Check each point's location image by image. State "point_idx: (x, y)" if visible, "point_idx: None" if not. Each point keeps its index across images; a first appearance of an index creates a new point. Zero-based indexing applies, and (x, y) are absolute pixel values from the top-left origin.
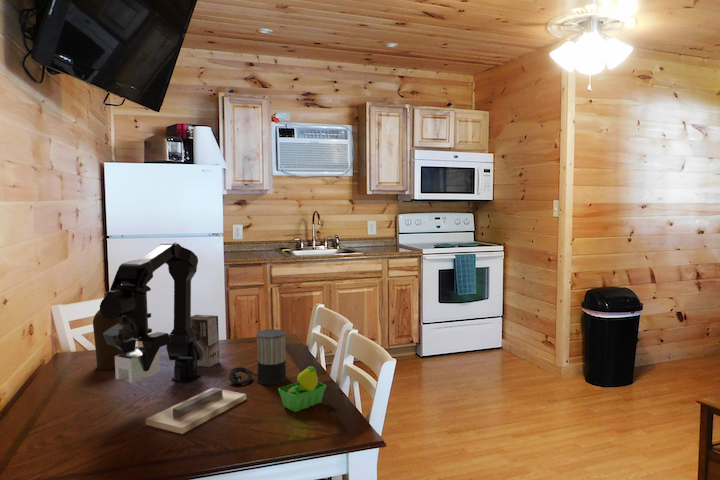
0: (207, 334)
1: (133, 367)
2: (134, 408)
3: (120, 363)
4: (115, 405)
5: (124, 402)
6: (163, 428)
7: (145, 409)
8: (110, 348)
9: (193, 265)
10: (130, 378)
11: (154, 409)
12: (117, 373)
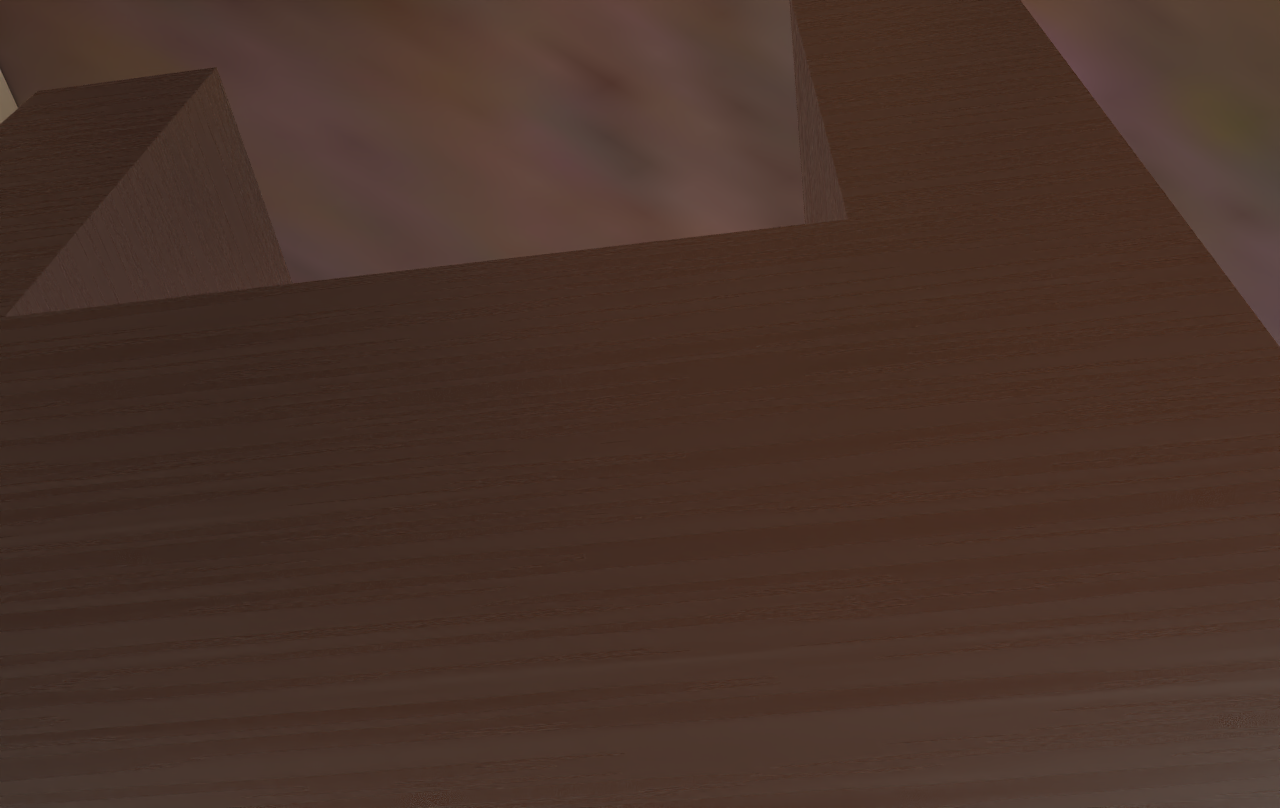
0: None
1: None
2: (789, 112)
3: (637, 439)
4: (1255, 4)
5: (1199, 177)
6: None
7: (579, 186)
8: None
9: None
10: (51, 133)
11: (454, 261)
12: (908, 75)
